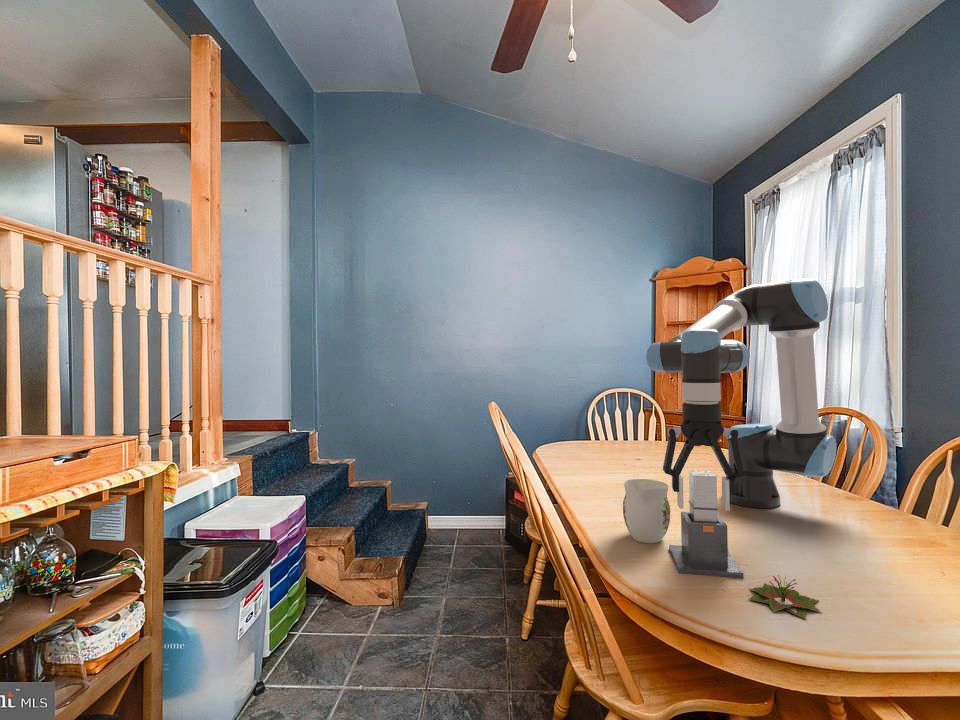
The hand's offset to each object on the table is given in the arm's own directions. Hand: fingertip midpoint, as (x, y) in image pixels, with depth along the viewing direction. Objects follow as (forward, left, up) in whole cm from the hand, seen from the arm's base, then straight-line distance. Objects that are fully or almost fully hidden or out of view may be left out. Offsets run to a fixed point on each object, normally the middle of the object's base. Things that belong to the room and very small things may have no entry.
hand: (702, 507), depth 100 cm
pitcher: (+10, -13, -12) cm, 20 cm away
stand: (0, 0, -12) cm, 12 cm away
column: (0, 0, -11) cm, 11 cm away
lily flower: (-10, +14, -13) cm, 21 cm away
